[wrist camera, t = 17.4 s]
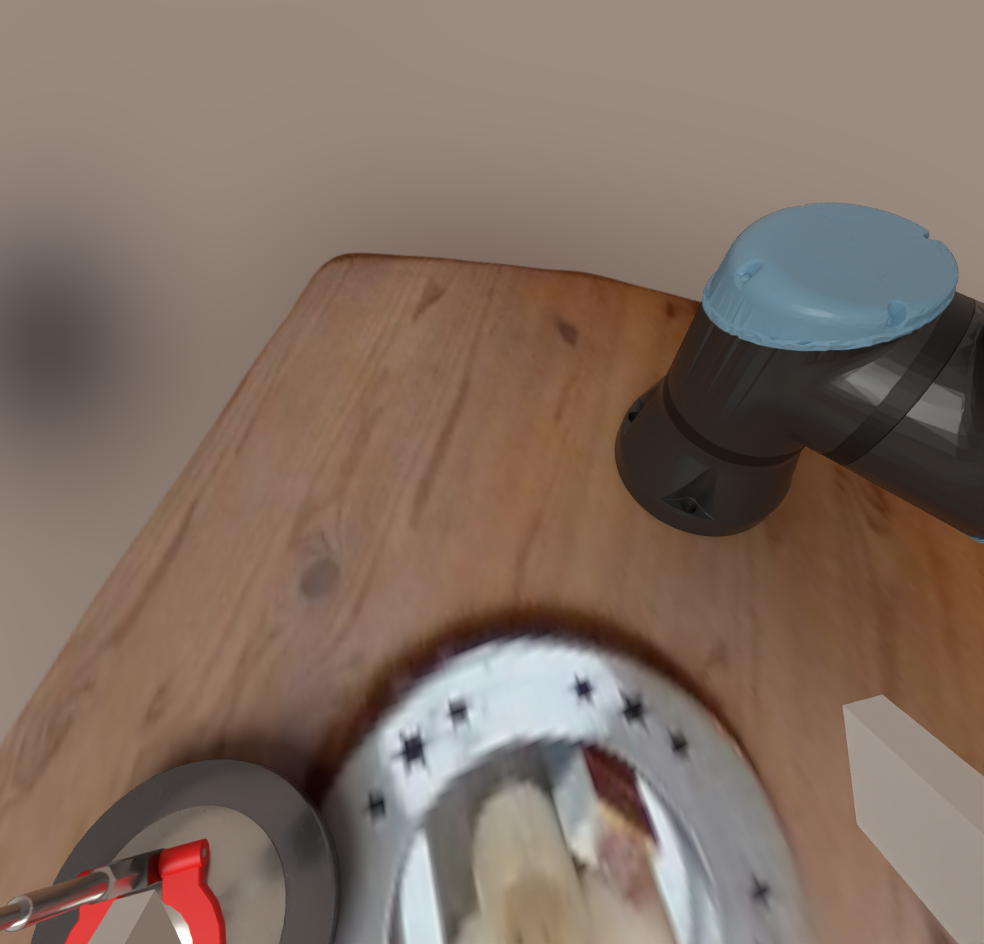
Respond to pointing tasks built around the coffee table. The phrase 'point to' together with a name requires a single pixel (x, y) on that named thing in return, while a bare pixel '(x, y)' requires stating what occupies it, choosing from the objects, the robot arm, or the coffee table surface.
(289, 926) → the rosette plate
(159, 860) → the tow hook
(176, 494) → the coffee table surface
